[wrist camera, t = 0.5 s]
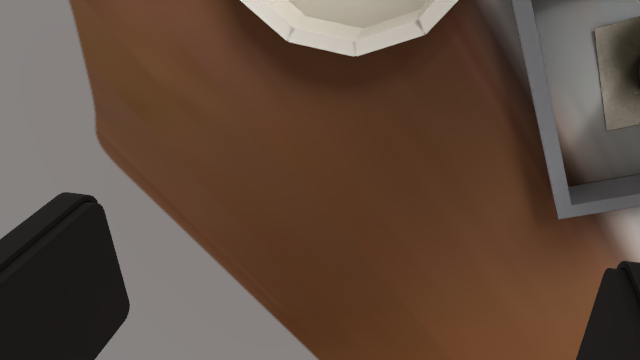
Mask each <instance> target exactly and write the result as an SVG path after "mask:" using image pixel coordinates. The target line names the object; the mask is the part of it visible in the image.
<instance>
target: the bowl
mask: <svg viewBox="0 0 640 360" xmlns="http://www.w3.org/2000/svg"><path fill="white" fill-rule="evenodd" d="M240 1H241V2H243V3H244V4H245V5H246V6H247V7H248V8H249V9H251V10H252V11H253V12H254V13H255V14H256V15H257V16H259V17H260V18H261V19H262V20H263V21H264V22H265V23H267V24H268V25H269V26H270V27H271V28H272V29H273V30H275V31H276V32H277V33H278V34H279V35H280V36H281V37H282V38H284V39H285V40H286V41H287V40H288V42H291V43H295V44H300V45H304V46H309V47H313V48H318V49H322V50H326V51H331V52H335V53H340V54H344V55H349V56H353V57H355V55H356V57H357V56H360V55H363V54H366V53H370V52H373V51H376V50H379V49H382V48H385V47H389V46H392V45H395V44H398V43H401V42H405V41H408V40H411V39H414V38H417V37H420V36H424V35H425V34H427V33H428V32H429V31H430V30H431V29H432V28H433V26H434V25H435V24H436V23H437V22H438V21H439V20H440V19H441V18H442V17H443V16H444V15H445V14H446V13H447V12H448V11H449V10H450V9H451V8H452V7H453V6H454V4H455V3H456V2H457V1H458V0H240Z"/></svg>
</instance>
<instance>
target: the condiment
mask: <svg viewBox="0 0 640 360" xmlns="http://www.w3.org/2000/svg"><path fill="white" fill-rule="evenodd" d="M595 38H596V47H597V56H598V64H599V73H600V81H601V91H602V97H603V105H604V114H605V121H606V129H607V130H612V129H619V128H624V127H628V126H633V125H640V17H635V18H631V19H628V20H624V21H621V22H618V23H615V24H611V25H607V26H603V27H599V28H595ZM634 92H637V93H639V95H635V94H634Z"/></svg>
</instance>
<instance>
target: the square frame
mask: <svg viewBox="0 0 640 360" xmlns="http://www.w3.org/2000/svg"><path fill="white" fill-rule="evenodd" d="M511 1H512V6H513V11H514V15H515V20H516V25H517V30H518V34H519V39H520V44H521V48H522V53H523V58H524V63H525V67H526V72H527V77H528V81H529V86H530V91H531V95H532V100H533V105H534V110H535V114H536V119H537V124H538V128H539V133H540V138H541V143H542V147H543V152H544V157H545V161H546V166H547V171H548V176H549V180H550V185H551V190H552V194H553V199H554V203H555V207H556V211H557V215H558V219H564V218H570V217H576V216H582V215H589V214H595V213H601V212H607V211H614V210H620V209H626V208H632V207H639V206H640V174H637V175H631V176H626V177H620V178H615V179H609V180H604V181H598V182H593V183H587V184H582V185H576V186H570V187H568V185H567V180H566V175H565V170H564V165H563V159H562V154H561V149H560V144H559V139H558V134H557V129H556V124H555V119H554V114H553V109H552V104H551V98H550V93H549V88H548V83H547V78H546V73H545V68H544V63H543V58H542V53H541V48H540V43H539V37H538V32H537V27H536V22H535V17H534V12H533V7H532V2H531V0H511Z"/></svg>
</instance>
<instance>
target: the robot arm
mask: <svg viewBox="0 0 640 360" xmlns="http://www.w3.org/2000/svg"><path fill="white" fill-rule="evenodd" d="M129 305H130V304H129V299H128V296H127V292H126V288H125V285H124V281H123V277H122V274H121V270H120V266H119V263H118V259H117V256H116V252H115V248H114V245H113V241H112V237H111V234H110V230H109V226H108V223H107V219H106V215H105V212H104V209H103V207H102V206H101V205H100V204H98V202H97V200H96V199H95V198H94V197H93V196H90V195H83V194H76V193H68V192H66V193H61V194H59V195H58V196H56V197H55V198H54V199H52V200H51V201H50V202H48V203H47V204H46V205H45V206H43V207H42V208H41V209H39V210H38V211H37V212H35V213H34V214H33V215H32V216H30V217H29V218H28V219H27V220H25V221H24V222H22V223H21V224H20V225H18V226H17V227H16V228H15V229H13V230H12V231H11V232H9V233H8V234H7V235H6V236H4V237H3V238H2V239H1V240H0V360H94V359H95V358H96V357H97V356H98V354H99V353H100V352H101V351H102V349H103V348H104V347H105V345H106V344H107V343H108V342H109V340H110V339H111V338H112V336H113V335H114V334H115V333H116V331H117V330H118V329H119V327H120V326H121V325H122V324H123V322H124V321H125V319H126V318H127V315H128V312H129ZM576 360H640V263H637V262H628V261H622V262H621V263H620V264H619V265H618V267H617V269H612V268H608V269H606V271H605V273H604V275H603V278H602V281H601V284H600V287H599V290H598V293H597V296H596V300H595V303H594V306H593V309H592V312H591V315H590V318H589V321H588V324H587V327H586V330H585V334H584V337H583V340H582V343H581V346H580V349H579V352H578V355H577V358H576Z"/></svg>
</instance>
